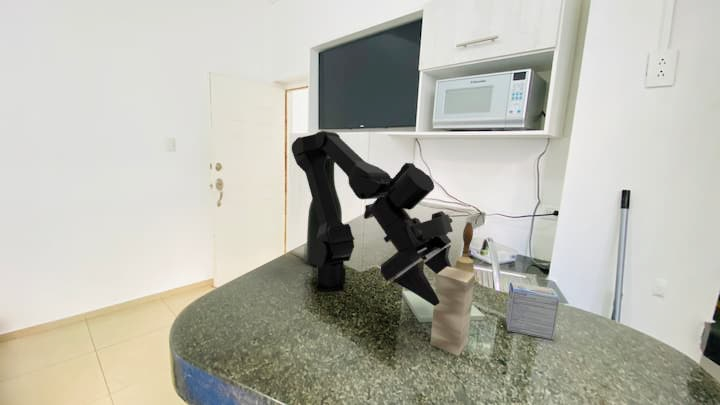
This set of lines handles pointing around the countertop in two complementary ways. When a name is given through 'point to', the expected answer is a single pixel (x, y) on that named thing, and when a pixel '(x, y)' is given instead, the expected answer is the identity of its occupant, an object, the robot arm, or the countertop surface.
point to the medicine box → (532, 310)
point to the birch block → (452, 310)
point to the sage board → (430, 308)
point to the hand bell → (466, 252)
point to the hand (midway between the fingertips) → (447, 295)
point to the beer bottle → (312, 216)
